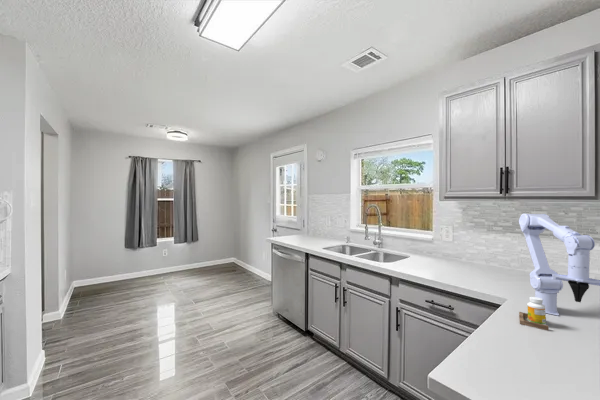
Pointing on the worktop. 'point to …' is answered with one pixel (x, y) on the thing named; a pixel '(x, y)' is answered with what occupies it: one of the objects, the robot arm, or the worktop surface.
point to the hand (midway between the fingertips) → (577, 301)
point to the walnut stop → (531, 324)
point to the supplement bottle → (536, 311)
